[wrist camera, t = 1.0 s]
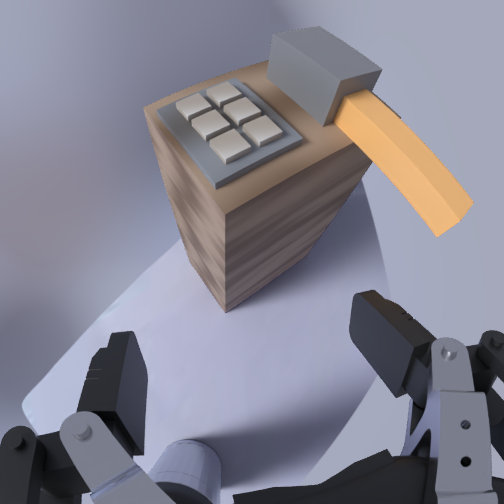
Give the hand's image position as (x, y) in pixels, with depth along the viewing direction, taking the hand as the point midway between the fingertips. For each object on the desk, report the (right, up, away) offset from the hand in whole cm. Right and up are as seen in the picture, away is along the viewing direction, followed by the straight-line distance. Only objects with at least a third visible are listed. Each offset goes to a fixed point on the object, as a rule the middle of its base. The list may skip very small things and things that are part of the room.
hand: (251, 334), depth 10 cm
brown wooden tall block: (-1, +2, +38) cm, 38 cm away
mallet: (+7, +11, +8) cm, 15 cm away
